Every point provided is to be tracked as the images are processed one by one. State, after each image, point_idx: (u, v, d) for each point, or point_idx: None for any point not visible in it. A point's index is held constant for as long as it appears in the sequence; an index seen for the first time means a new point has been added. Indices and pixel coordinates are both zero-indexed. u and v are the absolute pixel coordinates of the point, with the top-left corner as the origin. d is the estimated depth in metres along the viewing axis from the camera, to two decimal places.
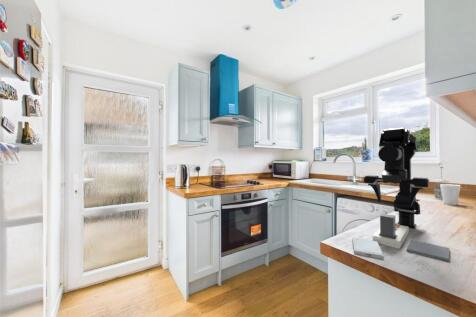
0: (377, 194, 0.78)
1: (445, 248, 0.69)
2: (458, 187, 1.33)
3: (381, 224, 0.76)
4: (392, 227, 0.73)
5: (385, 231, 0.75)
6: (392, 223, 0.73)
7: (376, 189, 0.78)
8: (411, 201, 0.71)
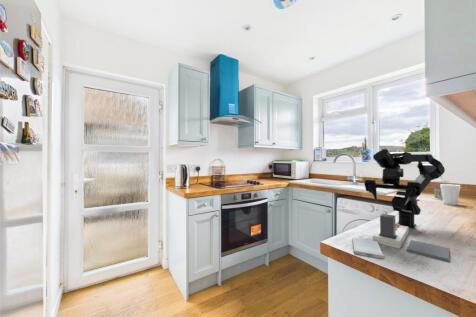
0: (375, 194, 0.86)
1: (445, 248, 0.69)
2: (458, 187, 1.33)
3: (381, 224, 0.76)
4: (392, 227, 0.73)
5: (385, 231, 0.75)
6: (392, 223, 0.73)
7: (374, 190, 0.87)
8: (405, 200, 0.79)
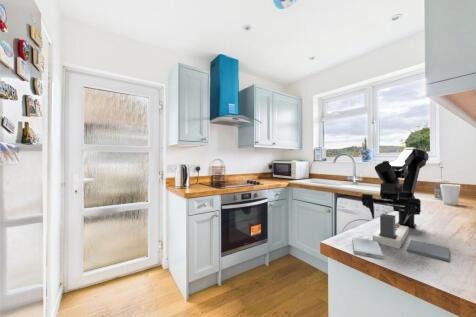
0: (372, 210, 0.81)
1: (445, 248, 0.69)
2: (458, 187, 1.33)
3: (381, 224, 0.76)
4: (392, 227, 0.73)
5: (385, 231, 0.75)
6: (392, 223, 0.73)
7: (371, 205, 0.82)
8: (404, 218, 0.73)
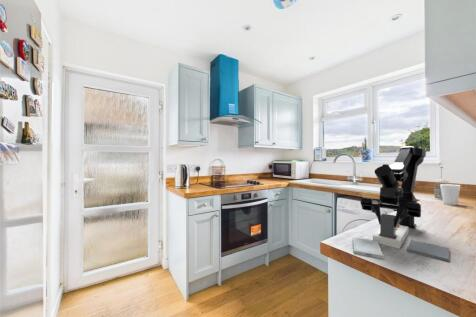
0: (378, 215, 0.78)
1: (445, 248, 0.69)
2: (458, 187, 1.33)
3: (381, 224, 0.76)
4: (392, 227, 0.73)
5: (385, 231, 0.75)
6: (392, 223, 0.73)
7: (378, 210, 0.79)
8: (396, 221, 0.74)
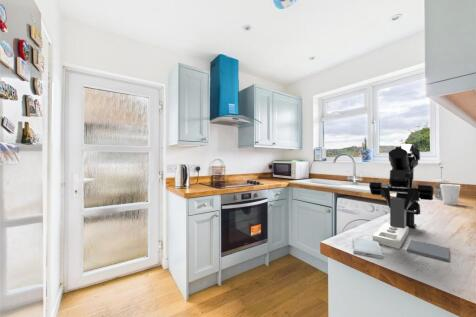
0: (388, 199, 0.76)
1: (445, 248, 0.69)
2: (458, 187, 1.33)
3: (391, 207, 0.74)
4: (403, 210, 0.71)
5: (395, 214, 0.73)
6: (403, 206, 0.71)
7: (388, 194, 0.77)
8: (407, 204, 0.72)
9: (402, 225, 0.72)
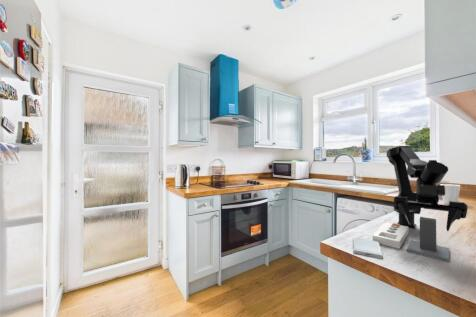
0: (408, 215, 0.72)
1: (445, 248, 0.69)
2: (458, 187, 1.33)
3: (421, 228, 0.68)
4: (435, 232, 0.66)
5: (426, 236, 0.68)
6: (435, 227, 0.66)
7: (407, 209, 0.73)
8: (448, 224, 0.65)
9: (434, 248, 0.66)
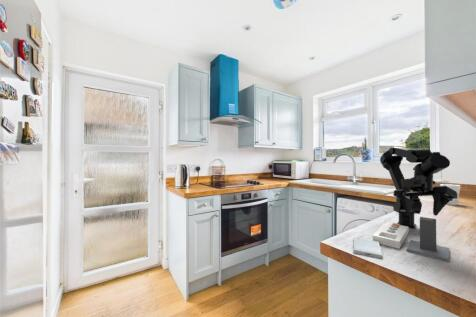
0: (405, 206, 0.82)
1: (445, 248, 0.69)
2: (458, 187, 1.33)
3: (421, 228, 0.68)
4: (435, 232, 0.66)
5: (426, 236, 0.68)
6: (435, 227, 0.66)
7: (404, 201, 0.83)
8: (434, 209, 0.72)
9: (434, 248, 0.66)
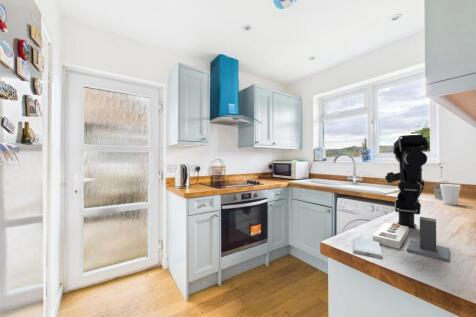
0: None
1: (445, 248, 0.69)
2: (458, 187, 1.33)
3: (421, 228, 0.68)
4: (435, 232, 0.66)
5: (426, 236, 0.68)
6: (435, 227, 0.66)
7: None
8: (407, 202, 0.76)
9: (434, 248, 0.66)
